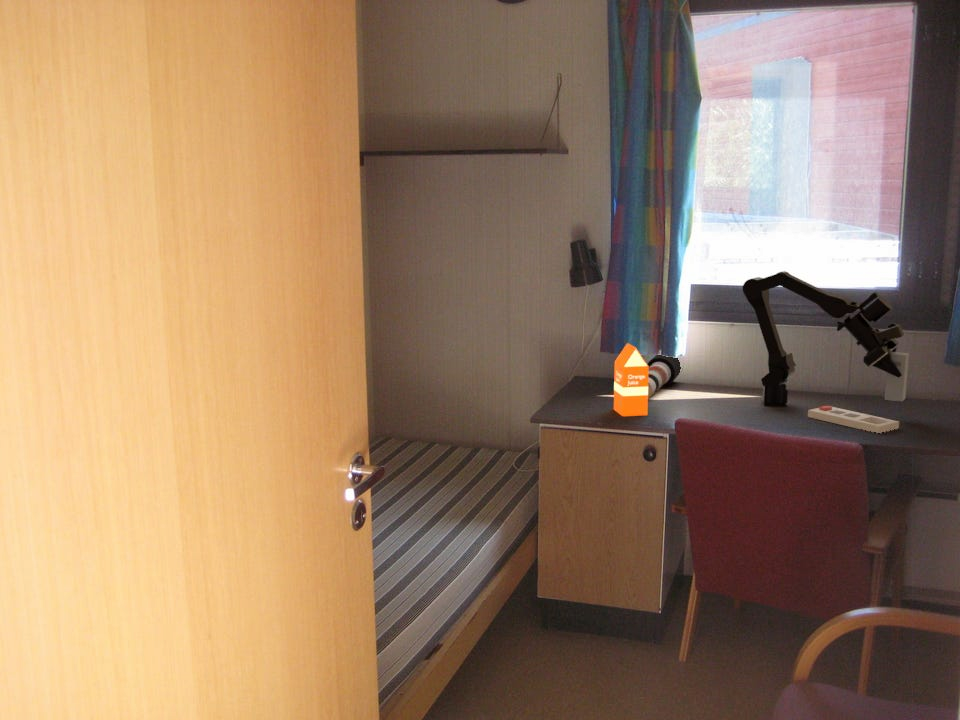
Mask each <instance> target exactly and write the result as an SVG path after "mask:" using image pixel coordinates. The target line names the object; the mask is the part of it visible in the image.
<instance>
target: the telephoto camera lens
mask: <svg viewBox="0 0 960 720" xmlns="http://www.w3.org/2000/svg"><path fill="white" fill-rule="evenodd" d="M646 364H647V365H648V366H649V371H648V399H649V398H650V397H652V395H653V394H654V393H656V392H657V391H659V390H660V389H661V388H663V387H662V386H665V387H668V386H669V385H671V384H672V383H673V382H674V381H675V380H676V379H677V378H678V376H679V375H680V374H681V373H680V369H681V367H680V362H679V360H678V358H673V357H666V356H662V355H657V354H655V356H653V357H652V358H651V359H650V360H649V361H648V362H647V363H646ZM679 373H680V374H679Z"/></svg>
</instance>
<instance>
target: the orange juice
mask: <svg viewBox="0 0 960 720" xmlns="http://www.w3.org/2000/svg"><path fill="white" fill-rule="evenodd" d="M647 364H648V363H646V361H645V360H644V358H643V357H642V355H641V354H640V352H639V350H638V349H637V347H636V346H633V345H632V344H630V343H628V342H627V343H626V344H625V345H624V347H623V349H622V351H621V352H620V353H619V355H618V356H617V358H616V359H615V360H614V377H613V378H614V382H613V410H614V411H615V412H616V413H617V414H619V415H620V416H621V417H635V416H636V417H637V416H648V410H649V409H648V406H649V405H648V402H649V398H648V371H649V366H648V365H647Z"/></svg>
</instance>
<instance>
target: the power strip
mask: <svg viewBox="0 0 960 720" xmlns="http://www.w3.org/2000/svg"><path fill="white" fill-rule="evenodd" d="M807 418H811V419H815V420H820V421H823V422H829V423H832V424H837V425H842V426H845V427H849V428H853V429H856V430H861V429H862V430H861V431H865V430H866V431H865V432H870V431H871V433H874V432H876V433H875V434H878V433H880V434H883V433H882V432H884V433H887V432H890V430H891V431H895V430H899V429H898V428H900V421H898V420H893V419H889V418H884V417H880V416H875V415H871V414H867V413H863V412H862V413H861V412H857V411H853V410H849V409H845V408H844V409H843V408H839V407H834V406H831V405H823V406H819V407H817V408H811V409H808V410H807ZM894 429H895V430H894ZM886 431H887V432H886Z"/></svg>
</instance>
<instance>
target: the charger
mask: <svg viewBox="0 0 960 720" xmlns="http://www.w3.org/2000/svg"><path fill="white" fill-rule="evenodd" d="M909 358H910V353H909V352H899V351H897V352H891V359H892V361H893V362H894V364H895V365H896V367H897V368H898V370H899V371H900V373H901V374H902V376H900V377H899V378H898V377H896V376H894V375H892V374H890V373H888V372H886V376H885V388H884V390H885V391H884V401H885V400H887V401H894V402H895V401H896V402H903V401H904V400H905V399H906V396H907V395H906V394H907V382H908V372H909V371H908V368H909Z"/></svg>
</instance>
